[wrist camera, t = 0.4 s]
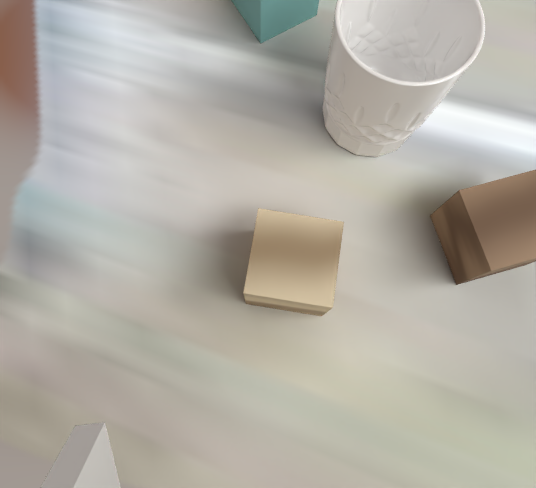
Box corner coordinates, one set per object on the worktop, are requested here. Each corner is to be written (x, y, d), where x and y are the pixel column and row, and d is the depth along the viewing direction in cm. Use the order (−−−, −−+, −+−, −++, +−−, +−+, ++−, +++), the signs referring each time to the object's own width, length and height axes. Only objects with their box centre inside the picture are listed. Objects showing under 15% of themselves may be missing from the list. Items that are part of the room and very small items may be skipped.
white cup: (372, 187, 33) (419, 114, 23) (291, 115, 34) (303, 17, 25) (444, 115, 35) (516, 18, 25) (364, 48, 36) (402, -69, 26)
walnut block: (524, 265, 32) (572, 247, 27) (455, 284, 32) (491, 270, 27) (496, 197, 33) (536, 169, 28) (429, 215, 33) (459, 190, 28)
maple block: (321, 316, 31) (332, 307, 26) (246, 303, 31) (243, 293, 26) (331, 243, 32) (343, 221, 27) (258, 231, 32) (258, 208, 28)
